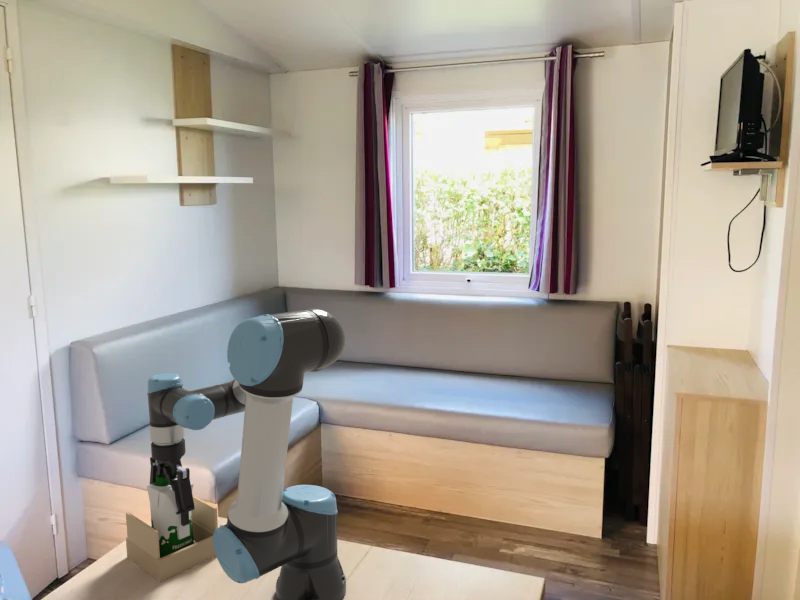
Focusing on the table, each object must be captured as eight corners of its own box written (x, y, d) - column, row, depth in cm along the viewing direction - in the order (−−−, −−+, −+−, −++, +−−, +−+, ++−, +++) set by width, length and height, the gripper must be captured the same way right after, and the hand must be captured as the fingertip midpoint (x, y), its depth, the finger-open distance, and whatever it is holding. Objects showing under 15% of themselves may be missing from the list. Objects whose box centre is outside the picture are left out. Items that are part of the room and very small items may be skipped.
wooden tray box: (220, 553, 157) (218, 509, 155) (160, 581, 145) (157, 533, 143) (186, 532, 167) (183, 490, 165) (127, 557, 155) (124, 511, 154)
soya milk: (179, 542, 162) (175, 465, 159) (201, 553, 157) (197, 475, 154) (147, 557, 155) (142, 477, 152) (169, 569, 150) (164, 487, 147)
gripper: (207, 446, 148) (212, 539, 151) (159, 425, 162) (164, 510, 165) (177, 456, 142) (182, 552, 145) (130, 433, 156) (135, 521, 159)
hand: (173, 530), depth 155 cm, fingers closed on soya milk, 9 cm apart
